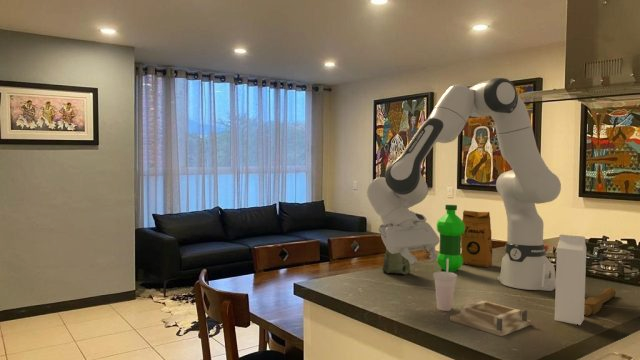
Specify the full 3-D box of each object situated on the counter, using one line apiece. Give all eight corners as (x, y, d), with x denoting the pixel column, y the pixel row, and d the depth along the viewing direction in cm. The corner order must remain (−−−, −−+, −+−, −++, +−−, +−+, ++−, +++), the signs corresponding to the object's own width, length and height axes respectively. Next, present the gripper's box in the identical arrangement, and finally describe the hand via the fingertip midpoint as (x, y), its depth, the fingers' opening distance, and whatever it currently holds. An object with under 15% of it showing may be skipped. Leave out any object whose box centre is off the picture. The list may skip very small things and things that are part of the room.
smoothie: (457, 313, 125) (458, 261, 125) (432, 311, 126) (434, 259, 126) (455, 306, 131) (456, 256, 131) (431, 304, 133) (433, 255, 132)
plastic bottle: (449, 273, 173) (451, 206, 172) (430, 268, 182) (431, 204, 181) (469, 271, 178) (471, 205, 177) (449, 266, 187) (450, 203, 186)
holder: (481, 310, 128) (481, 298, 128) (531, 324, 117) (531, 310, 117) (450, 320, 119) (450, 306, 119) (501, 336, 108) (501, 321, 108)
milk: (558, 315, 126) (561, 233, 125) (584, 319, 122) (587, 235, 122) (554, 320, 121) (556, 235, 120) (580, 325, 117) (583, 237, 117)
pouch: (401, 268, 181) (403, 204, 180) (418, 275, 169) (420, 206, 169) (375, 270, 177) (377, 204, 176) (391, 277, 165) (393, 206, 165)
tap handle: (616, 288, 146) (590, 307, 124) (616, 297, 146) (590, 318, 124) (605, 286, 148) (578, 304, 126) (604, 295, 148) (577, 315, 126)
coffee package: (487, 268, 183) (489, 212, 183) (456, 264, 191) (458, 210, 190) (495, 265, 191) (497, 211, 191) (465, 260, 199) (467, 209, 198)
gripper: (381, 218, 133) (407, 258, 126) (427, 215, 146) (453, 251, 139) (370, 232, 137) (394, 271, 129) (416, 227, 150) (440, 263, 142)
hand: (425, 261), depth 134 cm, fingers open, 8 cm apart
